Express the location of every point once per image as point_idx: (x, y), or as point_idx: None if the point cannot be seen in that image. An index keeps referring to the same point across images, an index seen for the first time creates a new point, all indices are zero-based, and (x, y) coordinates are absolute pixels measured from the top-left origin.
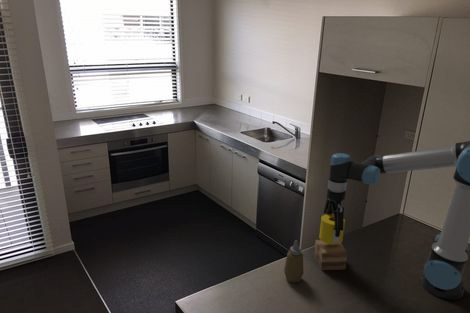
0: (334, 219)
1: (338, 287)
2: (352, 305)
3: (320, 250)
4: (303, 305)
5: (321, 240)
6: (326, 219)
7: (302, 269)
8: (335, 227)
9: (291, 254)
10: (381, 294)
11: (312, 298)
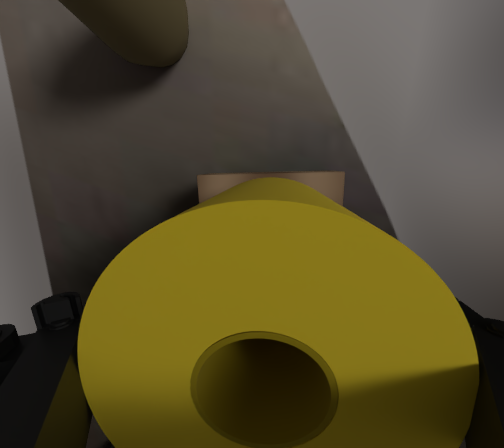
0: (15, 440)
1: (127, 205)
2: (48, 219)
3: (236, 174)
4: (16, 48)
5: (242, 182)
6: (256, 288)
7: (100, 38)
8: (56, 332)
9: None
10: None
11: (57, 93)
